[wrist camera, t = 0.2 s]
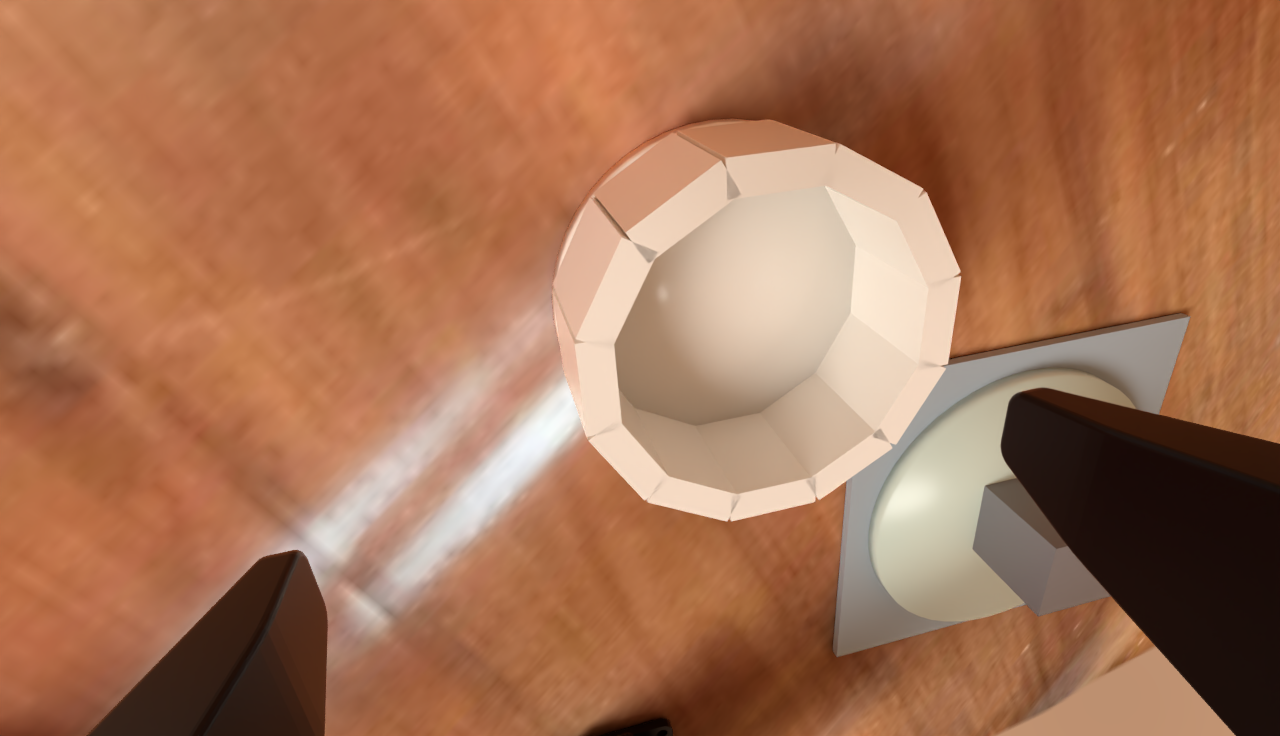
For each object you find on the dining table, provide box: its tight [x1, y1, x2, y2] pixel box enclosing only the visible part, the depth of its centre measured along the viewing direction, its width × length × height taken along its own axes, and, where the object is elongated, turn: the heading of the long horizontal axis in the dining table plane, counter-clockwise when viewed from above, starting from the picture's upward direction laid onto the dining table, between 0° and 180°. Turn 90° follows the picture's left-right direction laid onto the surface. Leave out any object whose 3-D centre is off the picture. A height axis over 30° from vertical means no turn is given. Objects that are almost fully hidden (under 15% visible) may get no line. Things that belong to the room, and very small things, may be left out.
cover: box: [868, 368, 1136, 622], centre depth 30 cm, size 13×13×5 cm
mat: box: [833, 313, 1190, 657], centre depth 32 cm, size 15×15×1 cm
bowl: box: [552, 119, 961, 521], centre depth 22 cm, size 11×11×5 cm
